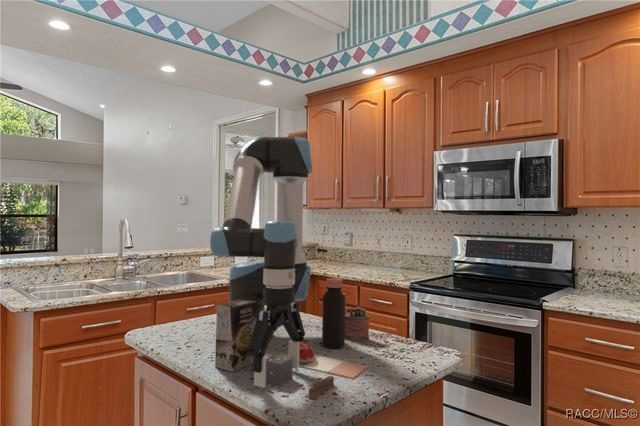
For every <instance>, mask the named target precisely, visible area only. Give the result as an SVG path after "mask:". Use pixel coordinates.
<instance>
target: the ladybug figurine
mask: <svg viewBox="0 0 640 426" xmlns="http://www.w3.org/2000/svg"><path fill="white" fill-rule="evenodd" d="M315 355H316V354H315V352H314V351H313V349H312V347H310V345H308V344H306V343H303V342H300V346H299V363H310V362H312V361H314V359H315Z"/></svg>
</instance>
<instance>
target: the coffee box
mask: <svg viewBox="0 0 640 426" xmlns="http://www.w3.org/2000/svg"><path fill="white" fill-rule="evenodd" d="M256 318H257V302H256V301H250V300H241V299H240V300H235V301H231V302H229V301H227V302H222V303H217V304H216V323H215V325H216V329H215V330H216V331H215V357H214V358H215V360H214V362H215V363H214V367H215V368H218V369H222V370H225V371H228V372H235V371H238V370H241V369H242V368H244V367H247V366H249V365H252V364H253V360H254V359H253V357H252V356H248V355H247V350H248V347H249V343H250V340H251V337H252V333H253V330H254V327H255V323H256ZM252 351H253V350H252Z"/></svg>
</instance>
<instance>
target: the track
mask: <svg viewBox="0 0 640 426" xmlns="http://www.w3.org/2000/svg"><path fill="white" fill-rule="evenodd" d="M300 367H301V368H304V369H308V370H313V371H317V372H322V373H326V374H330V375H335V376H338V377H343V378H348V379H355V378H356V377H357V376H359V375H360V374H362V373H363V372H364V371H365V370H367V369H368V367H369V366H368V365H364V364H360V363H355V362H351V361H350V362H349V361H344V360H341V359H336V358H331V357H330V358H329V357H327V356H326V357H325V356H321V355H316V354H315V359H314V361H312V362H310V363H299V368H300Z"/></svg>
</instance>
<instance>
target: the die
mask: <svg viewBox="0 0 640 426" xmlns="http://www.w3.org/2000/svg"><path fill="white" fill-rule="evenodd" d="M293 369H294V368H293V358H290V357H288V356H285V355H281V354H277V353H276V354H275V353H274V354H273V355H271V356H269V357H266V383H269V384H272V385H276V386H280V387H281V386H283V385H284V384H286V383H288V382H289V381H291V380H292V379H293Z"/></svg>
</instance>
